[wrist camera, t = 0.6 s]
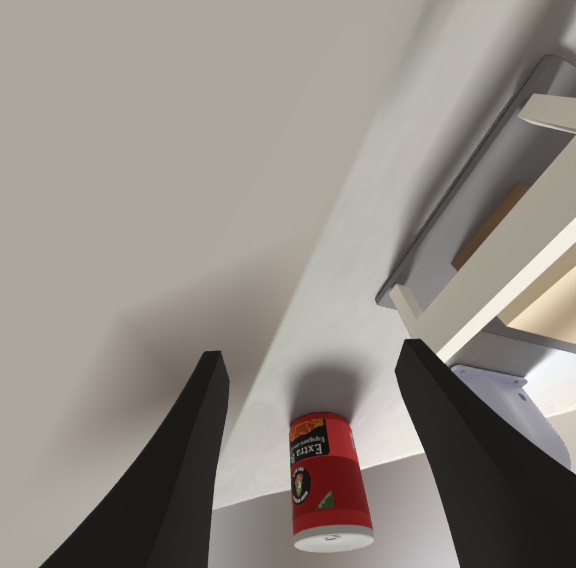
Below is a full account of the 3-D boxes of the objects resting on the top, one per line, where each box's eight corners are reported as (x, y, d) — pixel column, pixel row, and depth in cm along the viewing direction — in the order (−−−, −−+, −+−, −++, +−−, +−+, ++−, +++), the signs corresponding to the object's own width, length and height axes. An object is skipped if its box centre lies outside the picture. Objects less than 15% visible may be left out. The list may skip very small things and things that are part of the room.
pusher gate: (548, 101, 14) (705, 122, 9) (400, 296, 21) (439, 367, 16) (533, 93, 13) (685, 110, 8) (388, 293, 21) (424, 364, 16)
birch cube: (589, 211, 18) (704, 264, 13) (515, 283, 21) (584, 346, 16) (518, 181, 16) (617, 229, 12) (450, 263, 20) (506, 326, 15)
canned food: (315, 404, 32) (331, 530, 23) (363, 422, 35) (393, 539, 26) (275, 430, 35) (276, 548, 27) (322, 445, 39) (336, 555, 30)
